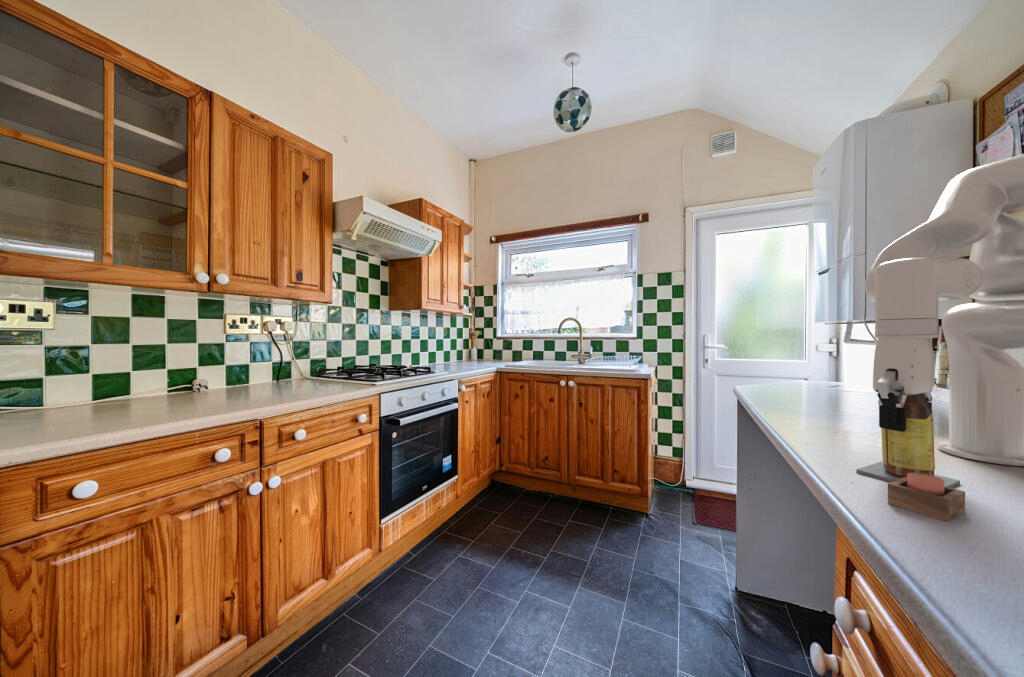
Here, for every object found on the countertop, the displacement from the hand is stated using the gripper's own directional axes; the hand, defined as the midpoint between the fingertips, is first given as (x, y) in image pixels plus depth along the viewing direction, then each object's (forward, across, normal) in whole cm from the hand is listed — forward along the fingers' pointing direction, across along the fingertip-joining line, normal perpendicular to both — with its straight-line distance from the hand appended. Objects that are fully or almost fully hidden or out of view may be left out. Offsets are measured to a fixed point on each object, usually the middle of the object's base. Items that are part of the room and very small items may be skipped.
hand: (905, 426), depth 63 cm
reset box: (+9, +12, +6) cm, 16 cm away
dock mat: (+9, 0, 0) cm, 9 cm away
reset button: (+7, +12, +6) cm, 15 cm away
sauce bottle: (+9, 0, 0) cm, 9 cm away
